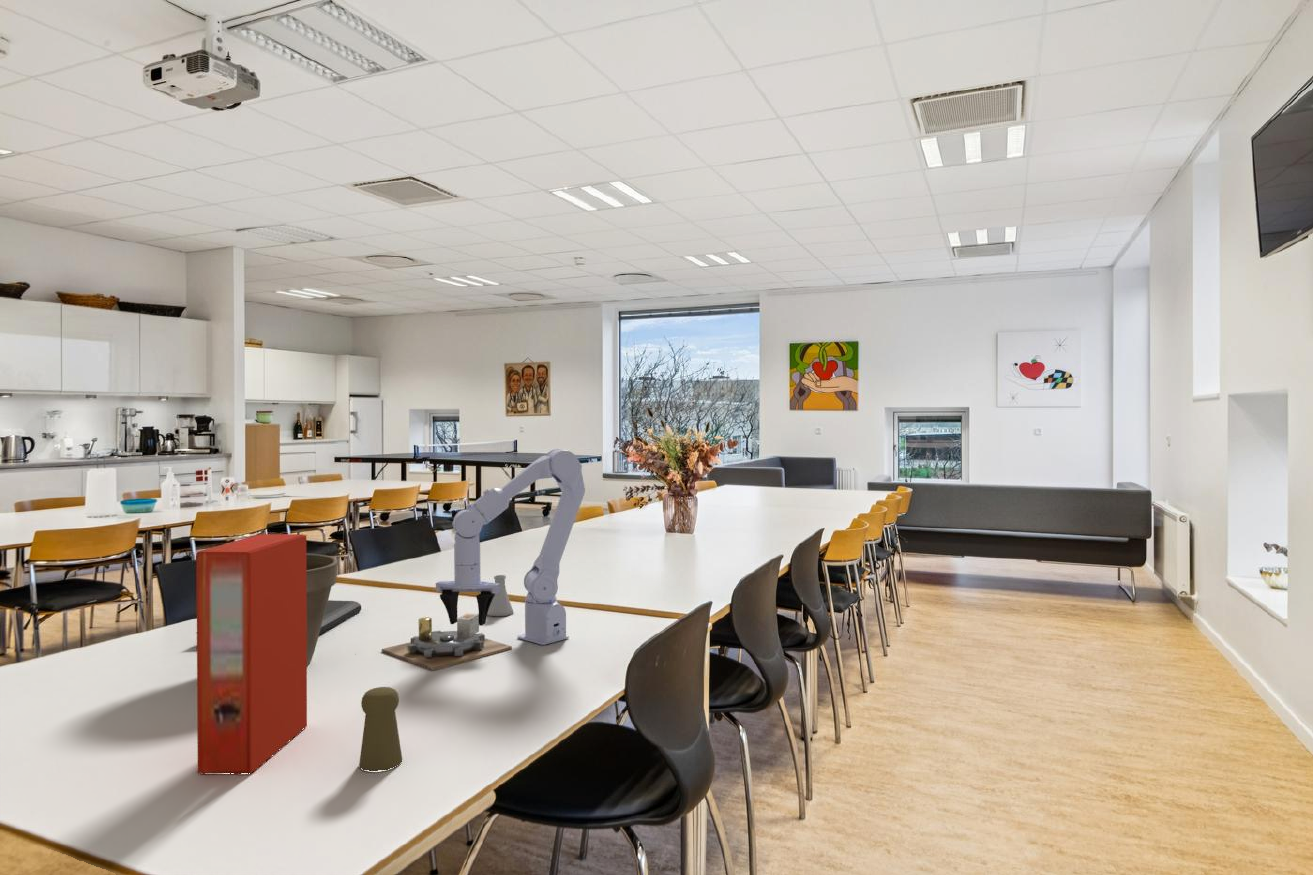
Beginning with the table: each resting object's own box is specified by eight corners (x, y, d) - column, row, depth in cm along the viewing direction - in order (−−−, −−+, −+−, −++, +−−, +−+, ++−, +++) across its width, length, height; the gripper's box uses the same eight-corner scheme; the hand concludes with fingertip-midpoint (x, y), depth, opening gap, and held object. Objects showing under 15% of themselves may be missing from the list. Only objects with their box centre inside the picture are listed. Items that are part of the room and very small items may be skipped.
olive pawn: (407, 754, 118) (406, 682, 118) (395, 772, 112) (394, 696, 112) (367, 755, 118) (366, 682, 118) (352, 773, 112) (352, 696, 112)
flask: (517, 610, 208) (517, 573, 208) (509, 617, 201) (509, 579, 201) (490, 610, 209) (490, 573, 209) (482, 617, 202) (481, 578, 202)
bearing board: (511, 649, 173) (511, 646, 173) (432, 670, 158) (432, 667, 158) (459, 633, 186) (459, 630, 186) (381, 651, 171) (381, 648, 171)
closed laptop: (272, 598, 208) (361, 600, 207) (272, 613, 208) (361, 615, 208) (194, 631, 175) (300, 633, 174) (194, 649, 175) (300, 652, 175)
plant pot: (364, 660, 165) (363, 558, 165) (253, 695, 144) (251, 578, 144) (290, 643, 178) (289, 548, 178) (178, 673, 157) (177, 566, 156)
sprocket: (478, 632, 183) (478, 607, 183) (491, 652, 168) (491, 624, 168) (404, 640, 177) (404, 614, 177) (410, 661, 161) (410, 633, 161)
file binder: (308, 727, 129) (306, 534, 128) (253, 774, 112) (250, 551, 111) (260, 727, 129) (257, 534, 128) (197, 774, 112) (194, 551, 111)
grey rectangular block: (479, 631, 179) (478, 613, 179) (469, 637, 174) (469, 619, 174) (466, 630, 179) (466, 613, 179) (457, 636, 174) (457, 618, 174)
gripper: (504, 561, 179) (505, 620, 179) (445, 559, 181) (445, 617, 182) (492, 567, 172) (493, 628, 172) (431, 565, 174) (431, 625, 175)
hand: (467, 623), depth 176 cm, fingers open, 6 cm apart
